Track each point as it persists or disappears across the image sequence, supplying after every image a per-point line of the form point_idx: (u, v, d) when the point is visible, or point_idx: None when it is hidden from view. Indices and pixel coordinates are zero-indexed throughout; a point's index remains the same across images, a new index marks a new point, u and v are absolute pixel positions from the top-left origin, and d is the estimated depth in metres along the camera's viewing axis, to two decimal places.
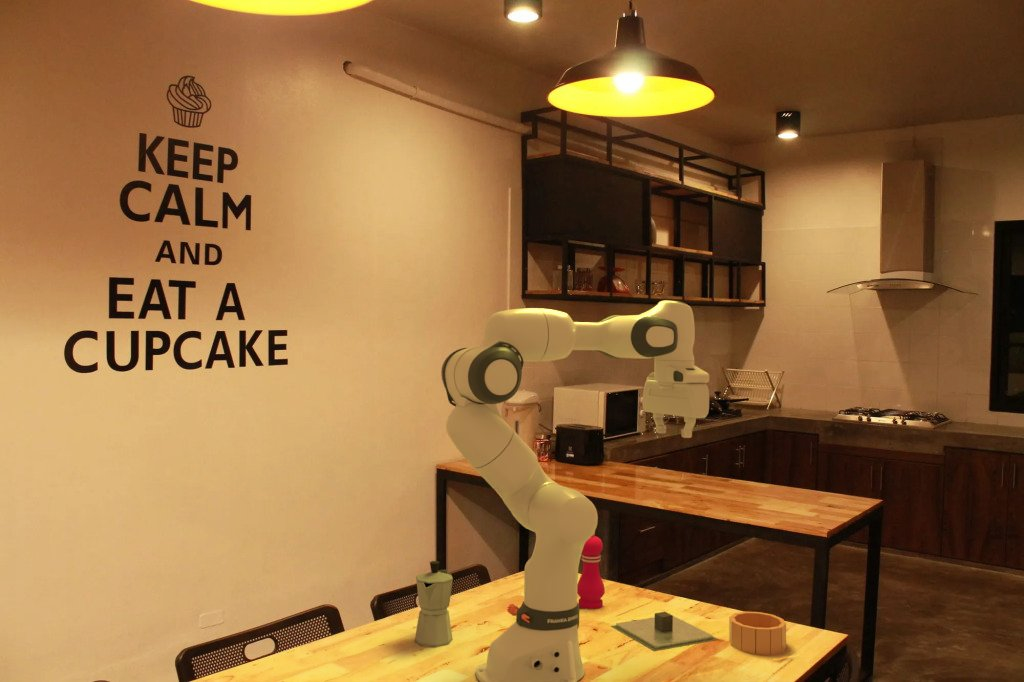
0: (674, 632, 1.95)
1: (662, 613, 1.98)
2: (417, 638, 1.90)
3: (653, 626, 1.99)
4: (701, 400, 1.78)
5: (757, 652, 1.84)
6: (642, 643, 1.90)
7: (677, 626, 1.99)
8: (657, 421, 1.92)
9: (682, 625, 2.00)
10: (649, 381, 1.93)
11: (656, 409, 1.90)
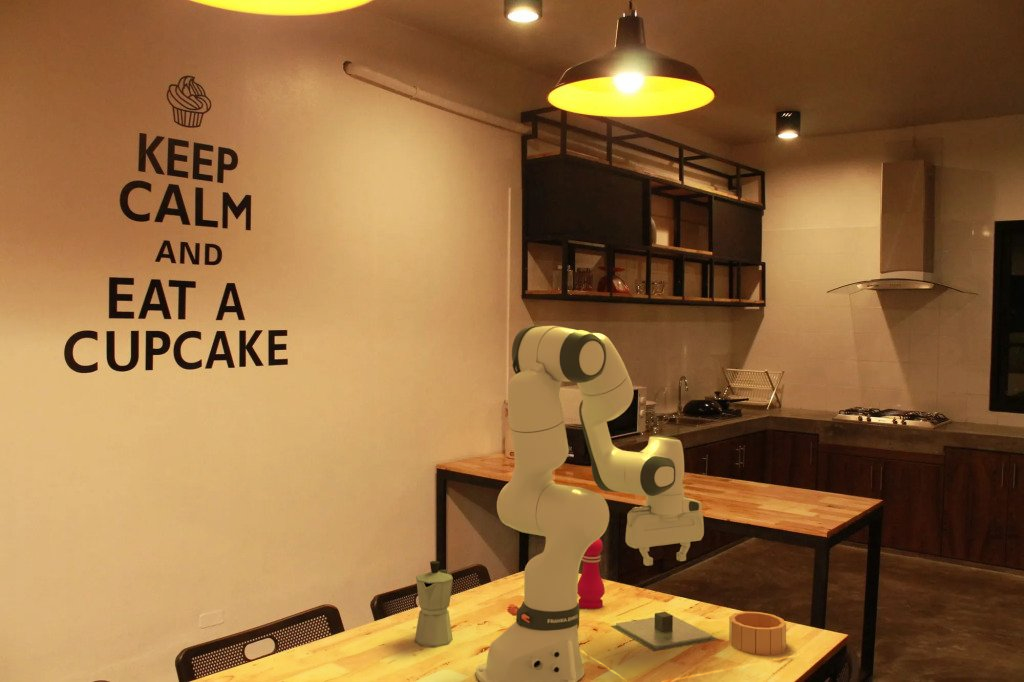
0: (674, 632, 1.95)
1: (662, 613, 1.98)
2: (417, 638, 1.90)
3: (653, 626, 1.99)
4: None
5: (757, 652, 1.84)
6: (642, 643, 1.90)
7: (677, 626, 1.99)
8: None
9: (682, 625, 2.00)
10: (643, 517, 1.92)
11: (655, 542, 1.94)
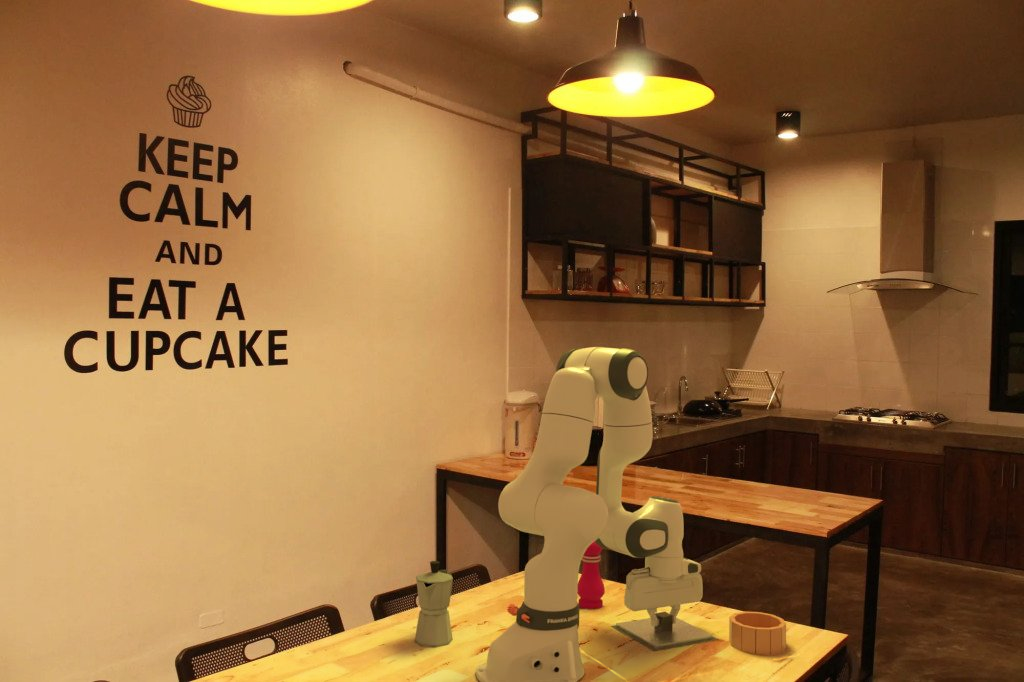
0: (674, 632, 1.95)
1: (662, 613, 1.98)
2: (417, 638, 1.90)
3: (653, 626, 1.99)
4: None
5: (757, 652, 1.84)
6: (642, 643, 1.90)
7: (677, 626, 1.99)
8: None
9: (682, 625, 2.00)
10: (642, 579, 1.92)
11: (653, 605, 1.94)
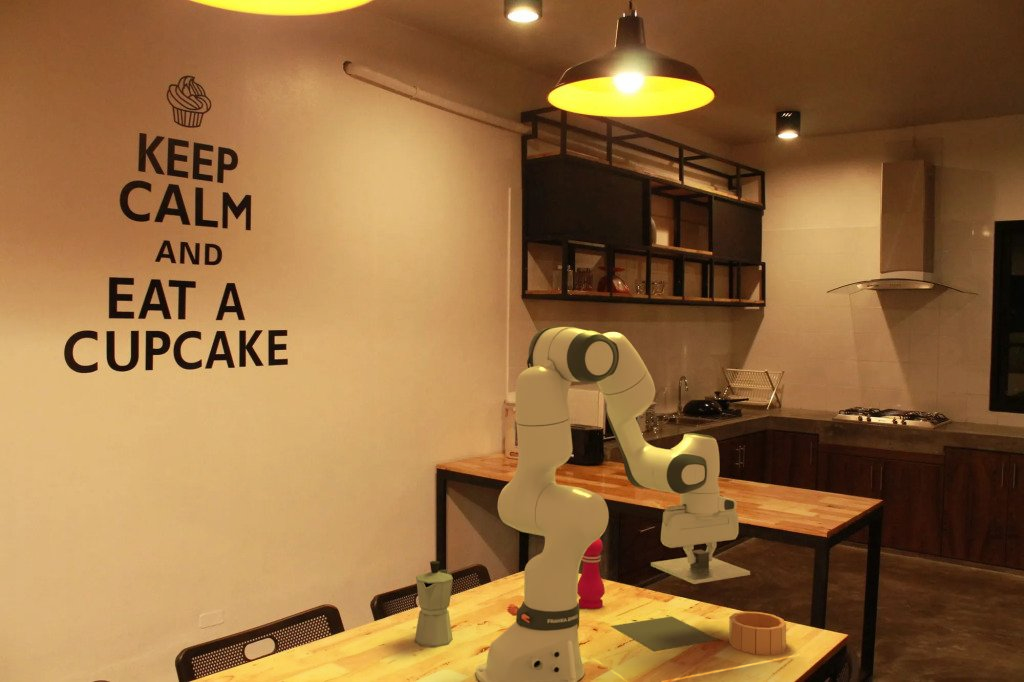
0: (711, 569, 1.92)
1: (698, 551, 1.95)
2: (417, 638, 1.90)
3: (689, 564, 1.97)
4: None
5: (757, 652, 1.84)
6: (642, 643, 1.90)
7: (713, 564, 1.97)
8: None
9: (718, 563, 1.98)
10: (679, 516, 1.90)
11: (690, 542, 1.91)
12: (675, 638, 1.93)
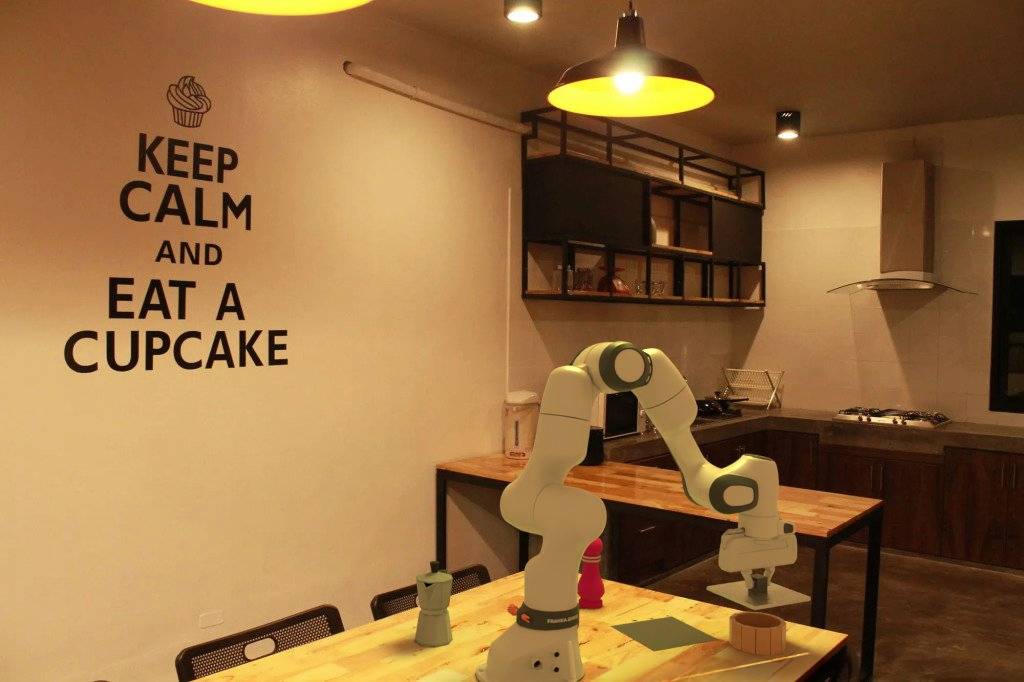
0: (770, 594, 1.88)
1: (756, 575, 1.91)
2: (417, 638, 1.90)
3: (746, 589, 1.92)
4: None
5: (757, 652, 1.84)
6: (642, 643, 1.90)
7: (771, 588, 1.92)
8: None
9: (775, 588, 1.93)
10: (738, 539, 1.85)
11: (749, 566, 1.87)
12: (675, 638, 1.93)
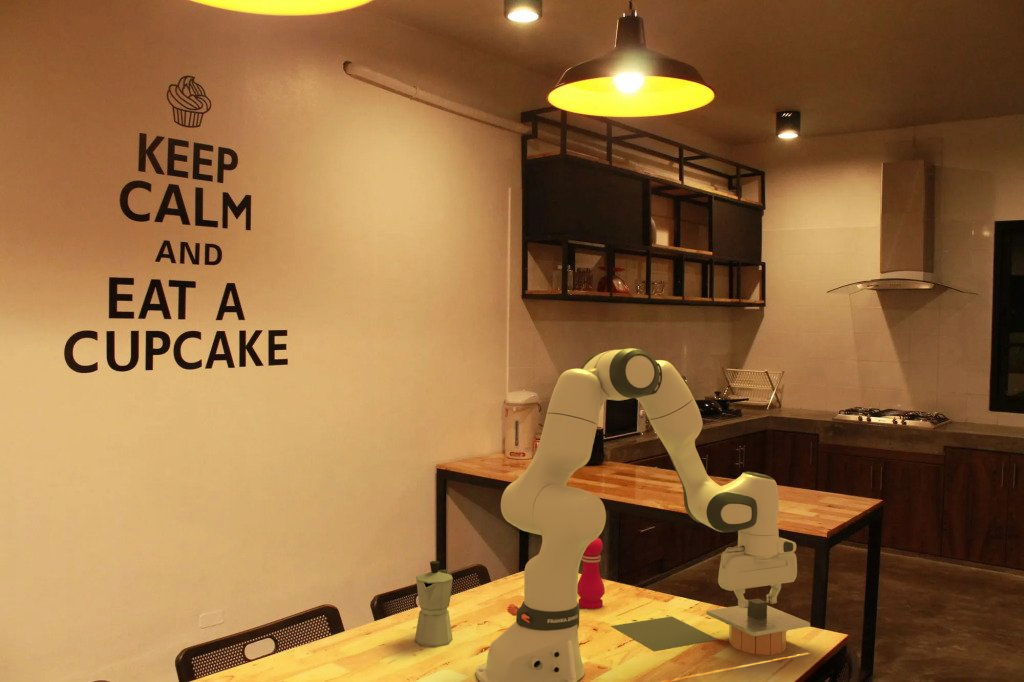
0: (769, 620, 1.88)
1: (755, 600, 1.90)
2: (417, 638, 1.90)
3: (745, 613, 1.92)
4: None
5: (757, 652, 1.84)
6: (642, 643, 1.90)
7: (770, 613, 1.92)
8: None
9: (775, 612, 1.93)
10: (738, 558, 1.85)
11: (749, 584, 1.86)
12: (675, 638, 1.93)
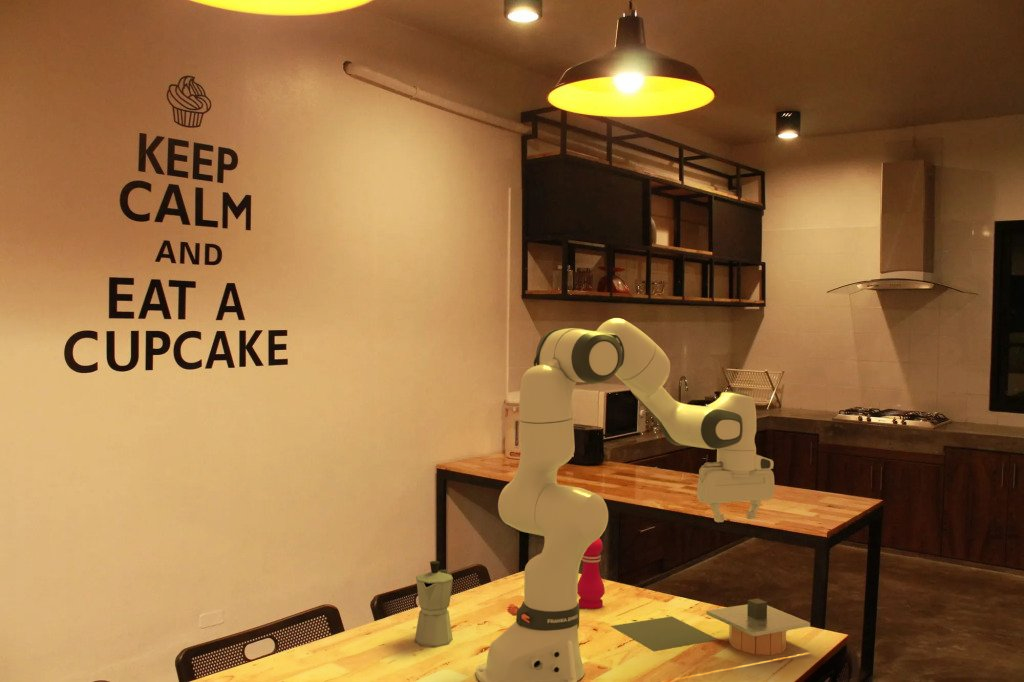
0: (769, 620, 1.88)
1: (755, 600, 1.90)
2: (417, 638, 1.90)
3: (745, 613, 1.92)
4: None
5: (757, 652, 1.84)
6: (642, 643, 1.90)
7: (770, 613, 1.92)
8: None
9: (775, 612, 1.93)
10: (716, 472, 1.91)
11: (726, 498, 1.93)
12: (675, 638, 1.93)
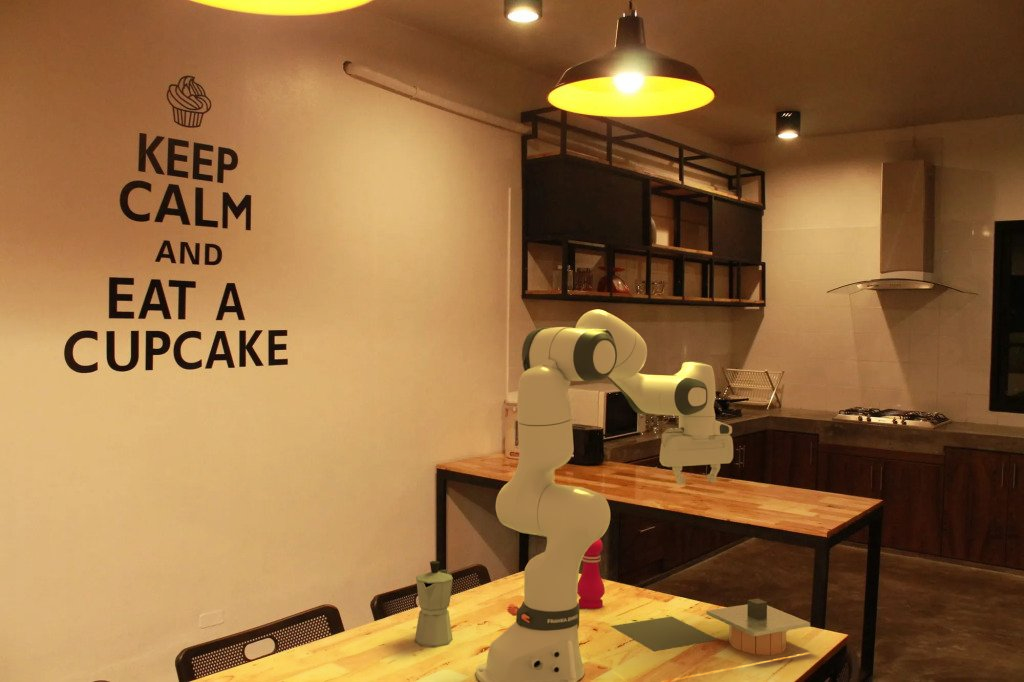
0: (769, 620, 1.88)
1: (755, 600, 1.90)
2: (417, 638, 1.90)
3: (745, 613, 1.92)
4: None
5: (757, 652, 1.84)
6: (642, 643, 1.90)
7: (770, 613, 1.92)
8: None
9: (775, 612, 1.93)
10: (677, 437, 2.03)
11: (687, 462, 2.04)
12: (675, 638, 1.93)
